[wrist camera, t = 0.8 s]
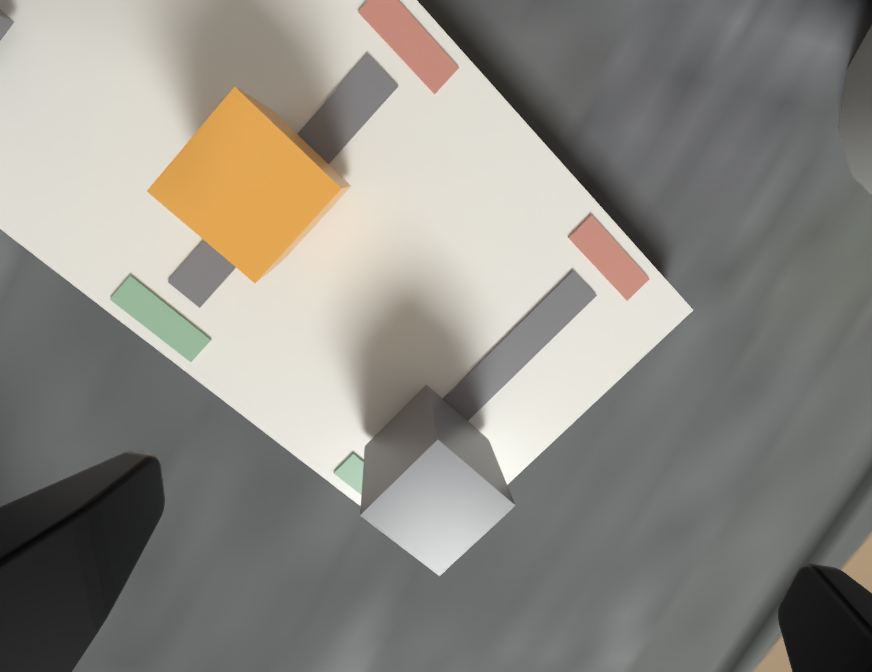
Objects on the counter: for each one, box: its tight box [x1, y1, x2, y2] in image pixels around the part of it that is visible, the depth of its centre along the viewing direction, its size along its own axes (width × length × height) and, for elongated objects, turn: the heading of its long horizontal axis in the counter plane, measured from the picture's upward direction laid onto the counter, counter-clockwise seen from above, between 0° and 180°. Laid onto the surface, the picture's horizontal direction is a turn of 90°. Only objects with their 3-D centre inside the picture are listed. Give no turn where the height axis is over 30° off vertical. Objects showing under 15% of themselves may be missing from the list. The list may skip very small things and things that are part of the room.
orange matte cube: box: [147, 87, 351, 283], centre depth 14 cm, size 3×3×4 cm
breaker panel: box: [0, 0, 693, 506], centre depth 17 cm, size 13×25×2 cm, turn 46°
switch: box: [360, 385, 515, 576], centre depth 17 cm, size 3×3×4 cm
